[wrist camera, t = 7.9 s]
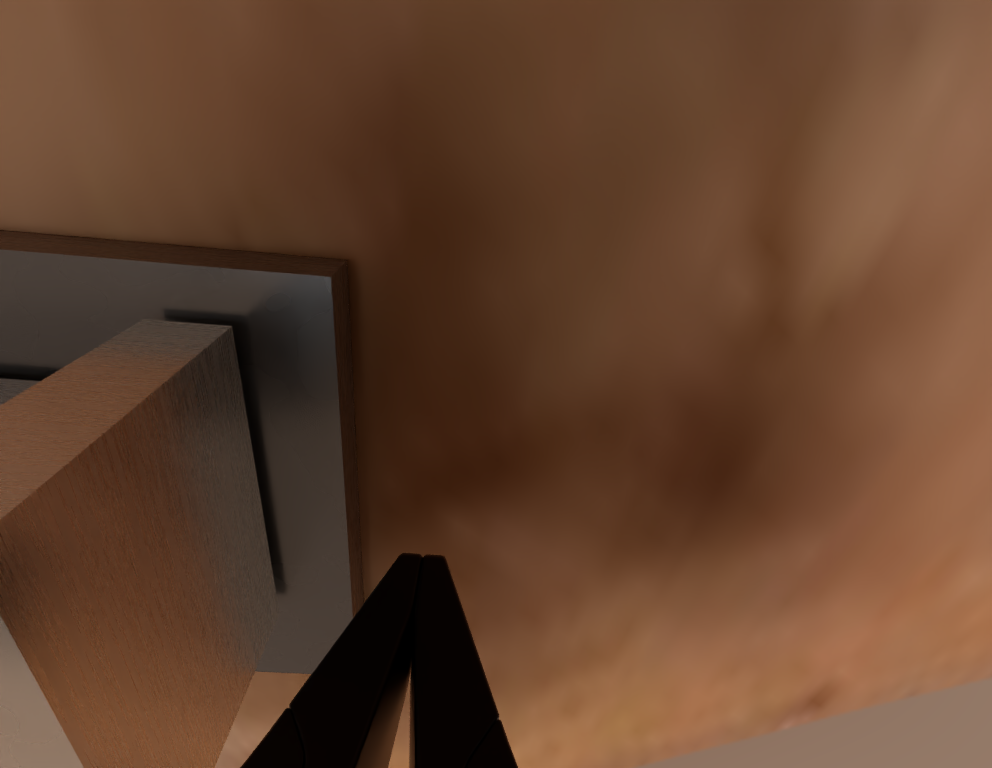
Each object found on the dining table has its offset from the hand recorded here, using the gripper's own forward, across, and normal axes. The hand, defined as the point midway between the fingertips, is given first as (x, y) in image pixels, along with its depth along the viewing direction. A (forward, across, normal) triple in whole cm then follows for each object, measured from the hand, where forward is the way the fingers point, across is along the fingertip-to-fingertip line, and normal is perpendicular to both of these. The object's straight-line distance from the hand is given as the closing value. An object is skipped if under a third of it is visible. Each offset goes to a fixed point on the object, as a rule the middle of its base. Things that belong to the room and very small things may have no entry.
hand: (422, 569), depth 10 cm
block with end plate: (+2, +8, +1) cm, 8 cm away
